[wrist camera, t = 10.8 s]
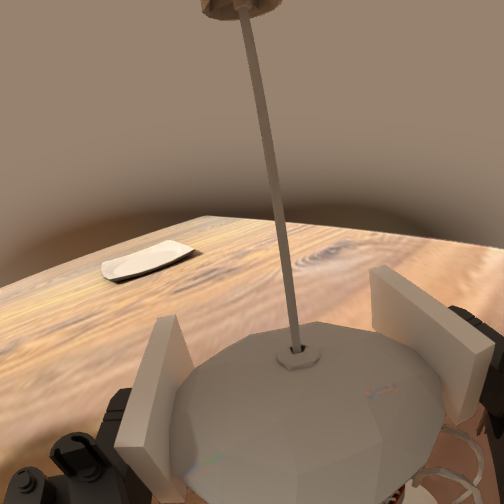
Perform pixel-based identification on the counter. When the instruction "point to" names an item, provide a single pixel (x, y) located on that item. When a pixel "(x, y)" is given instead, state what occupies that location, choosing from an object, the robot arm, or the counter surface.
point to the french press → (306, 393)
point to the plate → (145, 260)
